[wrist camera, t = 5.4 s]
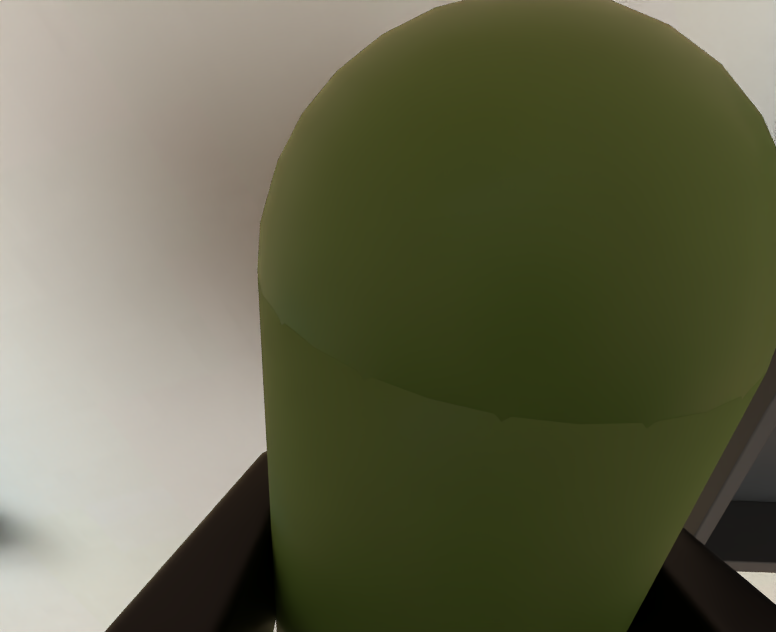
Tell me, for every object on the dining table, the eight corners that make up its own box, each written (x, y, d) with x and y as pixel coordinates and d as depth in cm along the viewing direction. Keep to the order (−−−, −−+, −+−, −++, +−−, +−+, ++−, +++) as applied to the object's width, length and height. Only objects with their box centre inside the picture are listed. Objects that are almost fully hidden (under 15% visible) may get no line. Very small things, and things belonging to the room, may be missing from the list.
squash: (301, 632, 12) (262, 932, 8) (293, -13, 5) (97, -124, 2) (491, 637, 12) (546, 929, 8) (683, 23, 6) (1302, -2, 2)
